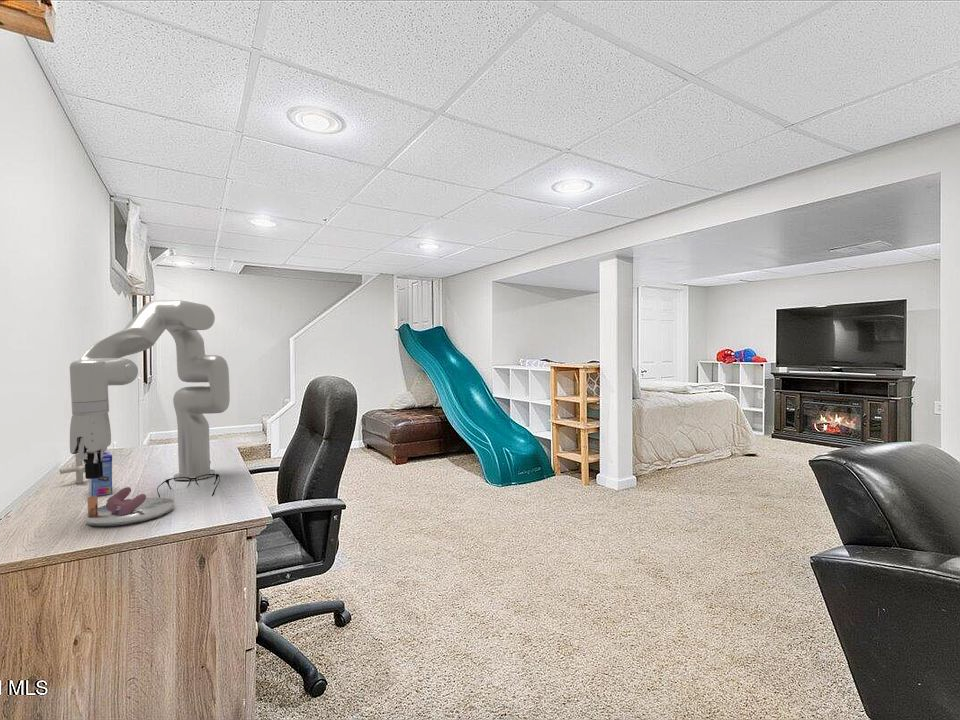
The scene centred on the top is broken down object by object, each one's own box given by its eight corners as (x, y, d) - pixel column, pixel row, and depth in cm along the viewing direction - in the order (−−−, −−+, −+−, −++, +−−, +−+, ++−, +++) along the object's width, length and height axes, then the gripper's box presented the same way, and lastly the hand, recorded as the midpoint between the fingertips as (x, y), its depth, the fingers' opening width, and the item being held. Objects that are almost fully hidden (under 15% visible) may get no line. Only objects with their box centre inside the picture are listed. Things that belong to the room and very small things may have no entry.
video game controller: (131, 501, 134) (101, 510, 128) (129, 485, 133) (99, 494, 127) (149, 509, 129) (118, 520, 123) (147, 493, 128) (116, 503, 122)
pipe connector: (92, 477, 172) (91, 449, 172) (103, 481, 166) (102, 452, 166) (56, 484, 164) (55, 454, 164) (65, 488, 158) (64, 458, 158)
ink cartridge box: (113, 494, 151) (112, 447, 151) (91, 497, 147) (89, 450, 147) (110, 487, 158) (109, 443, 158) (88, 491, 155) (87, 445, 154)
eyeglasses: (221, 484, 162) (221, 472, 162) (218, 496, 148) (218, 483, 147) (163, 491, 155) (163, 478, 155) (154, 504, 141) (153, 491, 141)
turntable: (77, 516, 129) (76, 491, 129) (159, 498, 144) (158, 476, 144) (97, 531, 117) (97, 505, 117) (184, 510, 132) (184, 487, 132)
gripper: (91, 404, 133) (94, 471, 133) (54, 412, 118) (59, 487, 119) (122, 403, 134) (125, 469, 135) (89, 411, 119) (93, 485, 120)
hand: (94, 477), depth 127 cm, fingers closed
